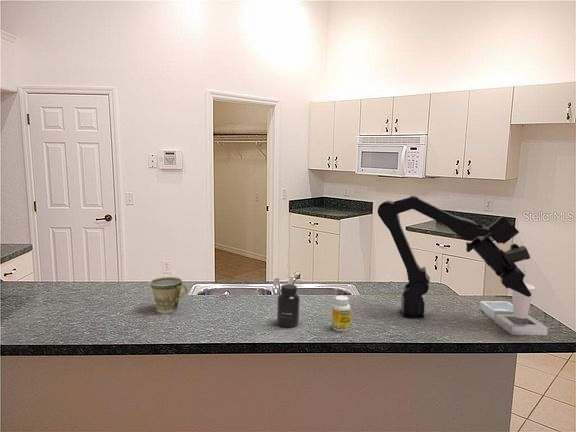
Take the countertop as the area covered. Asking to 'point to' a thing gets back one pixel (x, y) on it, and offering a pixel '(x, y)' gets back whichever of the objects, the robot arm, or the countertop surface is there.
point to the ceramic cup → (167, 293)
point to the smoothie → (522, 302)
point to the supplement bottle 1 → (288, 306)
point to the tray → (496, 308)
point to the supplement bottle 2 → (341, 314)
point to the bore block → (515, 327)
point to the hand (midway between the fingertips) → (527, 292)
